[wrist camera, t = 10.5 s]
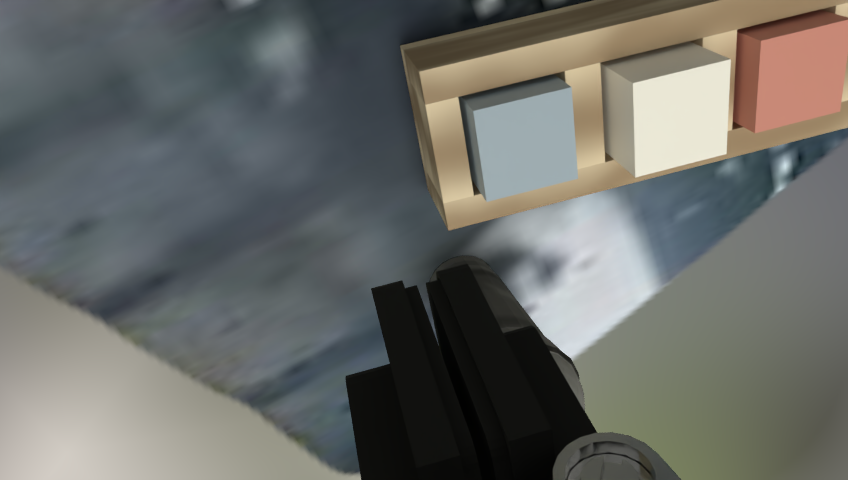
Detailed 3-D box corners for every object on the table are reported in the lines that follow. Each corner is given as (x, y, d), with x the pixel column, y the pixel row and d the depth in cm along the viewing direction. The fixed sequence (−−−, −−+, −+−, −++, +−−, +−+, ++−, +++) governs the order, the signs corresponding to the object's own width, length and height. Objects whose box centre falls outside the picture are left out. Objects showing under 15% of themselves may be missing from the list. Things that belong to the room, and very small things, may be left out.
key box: (400, 45, 39) (419, 71, 34) (799, -48, 41) (870, -36, 36) (428, 189, 43) (448, 230, 38) (786, 99, 45) (847, 127, 40)
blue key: (453, 87, 37) (473, 111, 34) (543, 66, 38) (571, 87, 34) (467, 172, 40) (486, 202, 36) (551, 151, 40) (578, 178, 37)
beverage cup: (498, 220, 45) (644, 443, 28) (524, 306, 49) (666, 549, 32) (393, 261, 45) (474, 510, 28) (427, 344, 49) (516, 609, 32)
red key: (716, 24, 38) (761, 40, 35) (800, 4, 39) (852, 18, 35) (713, 110, 41) (754, 133, 37) (791, 90, 41) (840, 111, 38)
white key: (598, 62, 37) (632, 83, 33) (687, 40, 37) (730, 59, 34) (602, 149, 39) (635, 177, 36) (686, 128, 39) (726, 154, 36)
